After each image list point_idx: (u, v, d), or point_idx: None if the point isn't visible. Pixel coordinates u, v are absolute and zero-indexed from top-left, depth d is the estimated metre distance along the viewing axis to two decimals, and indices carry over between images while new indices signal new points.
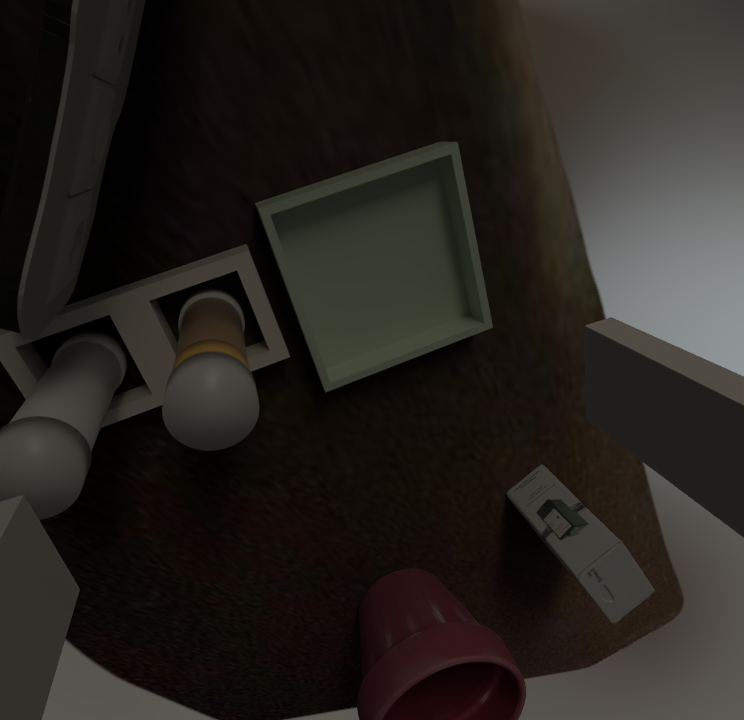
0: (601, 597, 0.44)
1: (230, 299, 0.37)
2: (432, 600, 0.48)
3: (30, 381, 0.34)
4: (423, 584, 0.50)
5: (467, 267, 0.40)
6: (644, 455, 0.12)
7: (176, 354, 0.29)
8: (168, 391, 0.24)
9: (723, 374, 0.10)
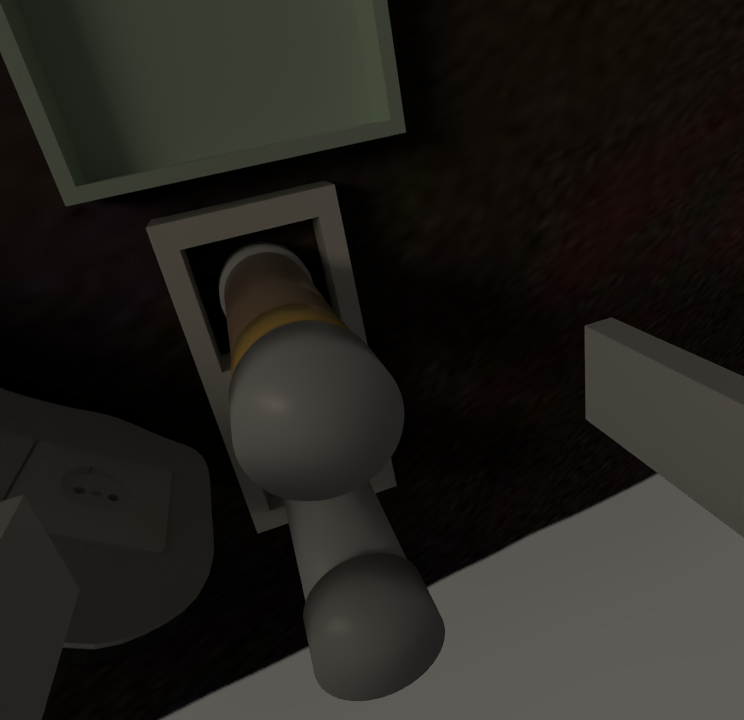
0: None
1: (230, 262, 0.24)
2: None
3: None
4: None
5: None
6: (644, 455, 0.12)
7: None
8: (271, 491, 0.14)
9: (723, 374, 0.10)
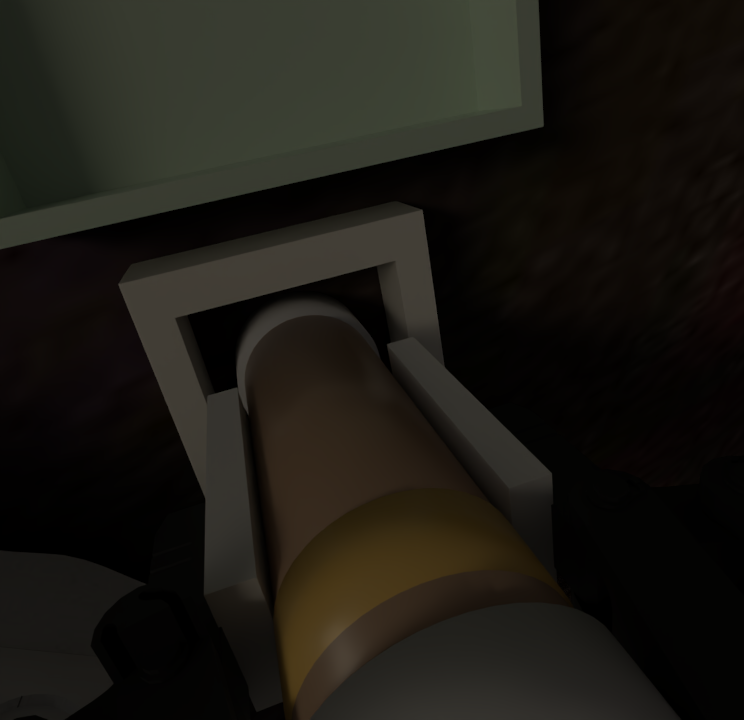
0: None
1: (255, 331, 0.15)
2: None
3: None
4: None
5: None
6: None
7: None
8: None
9: (458, 393, 0.11)
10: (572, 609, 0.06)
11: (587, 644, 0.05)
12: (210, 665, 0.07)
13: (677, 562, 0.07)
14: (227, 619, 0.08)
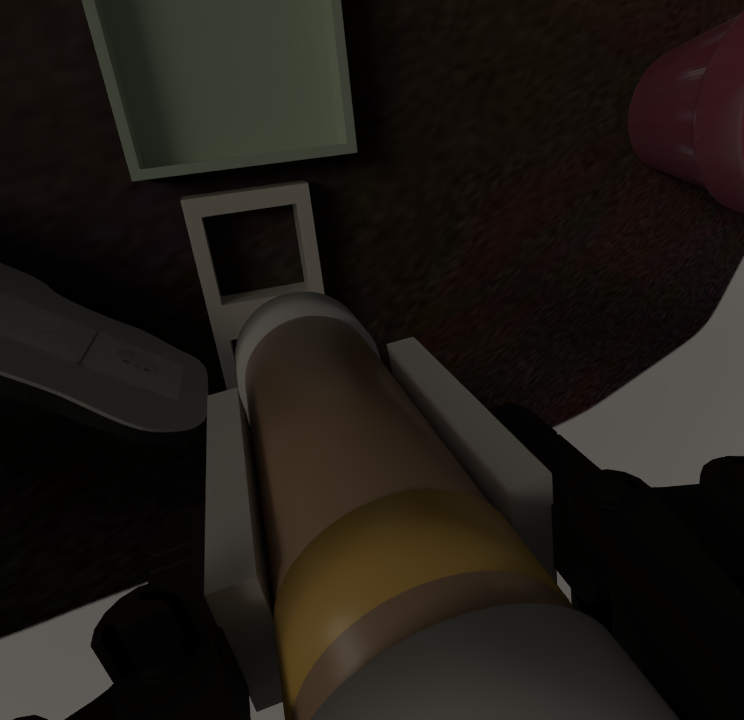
0: None
1: (255, 332, 0.15)
2: (679, 74, 0.36)
3: None
4: (658, 77, 0.38)
5: None
6: None
7: None
8: None
9: (458, 393, 0.11)
10: (572, 610, 0.06)
11: (587, 645, 0.05)
12: (210, 665, 0.07)
13: (677, 562, 0.07)
14: (227, 619, 0.08)
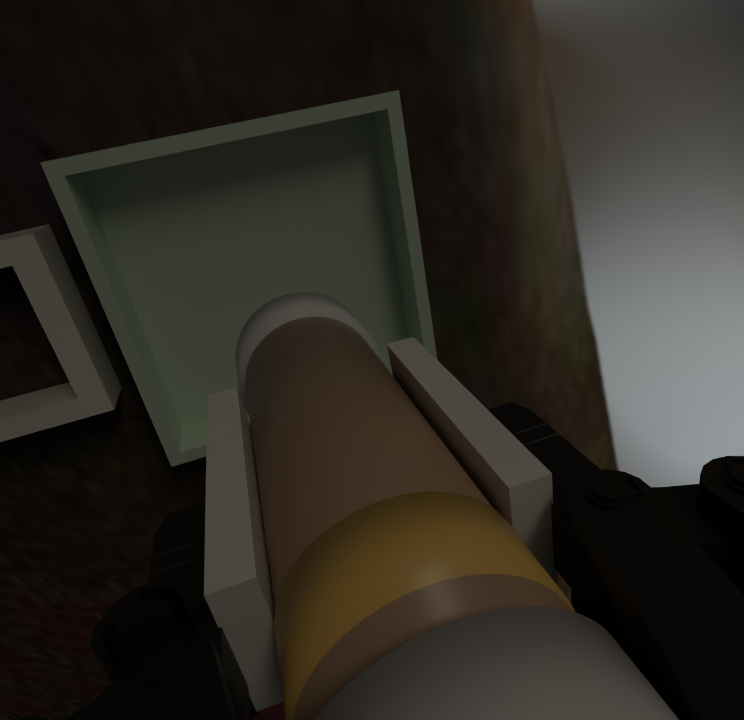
0: None
1: (256, 333, 0.15)
2: None
3: None
4: None
5: (408, 292, 0.27)
6: None
7: None
8: None
9: (458, 393, 0.11)
10: (573, 613, 0.06)
11: (588, 648, 0.05)
12: (210, 665, 0.07)
13: (677, 562, 0.07)
14: (227, 619, 0.08)
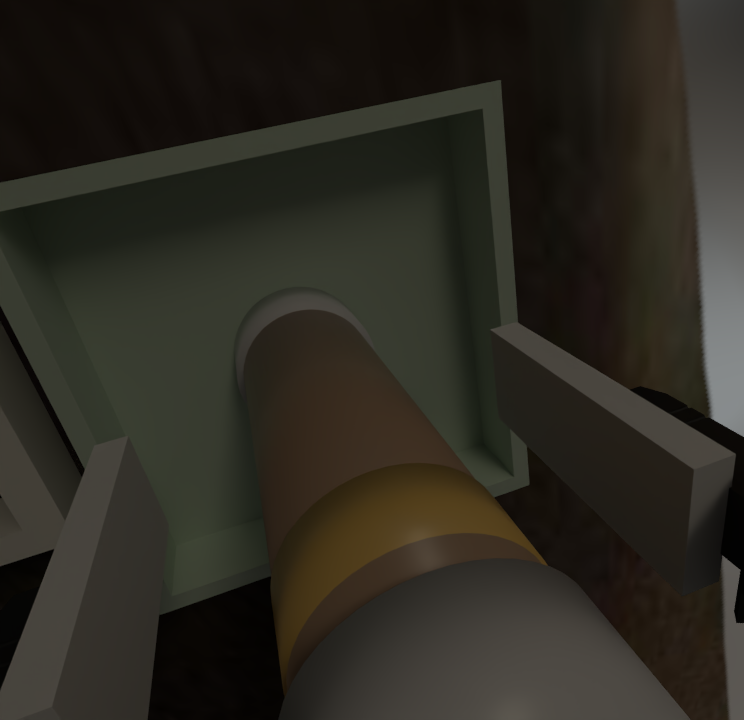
0: None
1: (254, 325, 0.16)
2: None
3: None
4: None
5: (489, 363, 0.19)
6: (540, 451, 0.13)
7: None
8: None
9: (592, 376, 0.11)
10: (545, 566, 0.06)
11: (557, 594, 0.06)
12: None
13: None
14: None
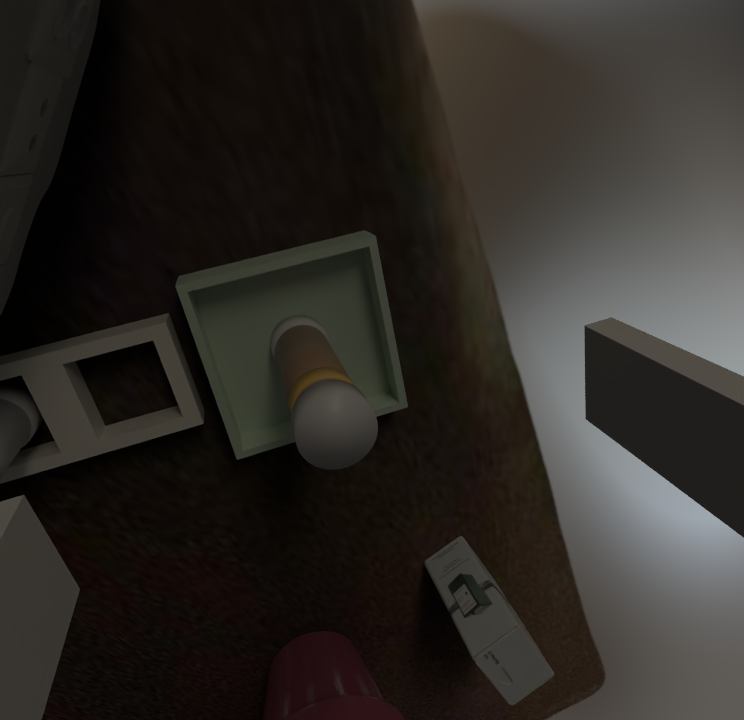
0: (499, 679, 0.45)
1: (279, 331, 0.39)
2: (336, 668, 0.48)
3: None
4: (332, 650, 0.50)
5: (385, 348, 0.42)
6: (644, 455, 0.12)
7: None
8: (312, 464, 0.28)
9: (722, 374, 0.10)
10: (349, 383, 0.29)
11: (348, 385, 0.29)
12: None
13: None
14: None
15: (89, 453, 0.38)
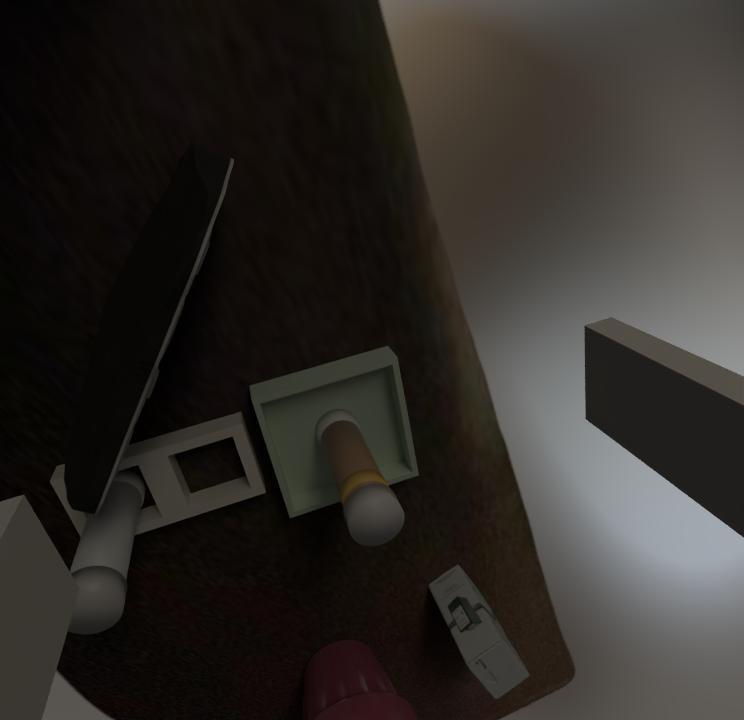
0: (486, 679, 0.58)
1: (324, 425, 0.52)
2: (361, 671, 0.61)
3: None
4: (356, 655, 0.64)
5: (402, 432, 0.55)
6: (644, 455, 0.12)
7: None
8: (360, 543, 0.41)
9: (722, 374, 0.10)
10: (384, 485, 0.42)
11: (383, 488, 0.42)
12: None
13: None
14: None
15: (182, 517, 0.51)
